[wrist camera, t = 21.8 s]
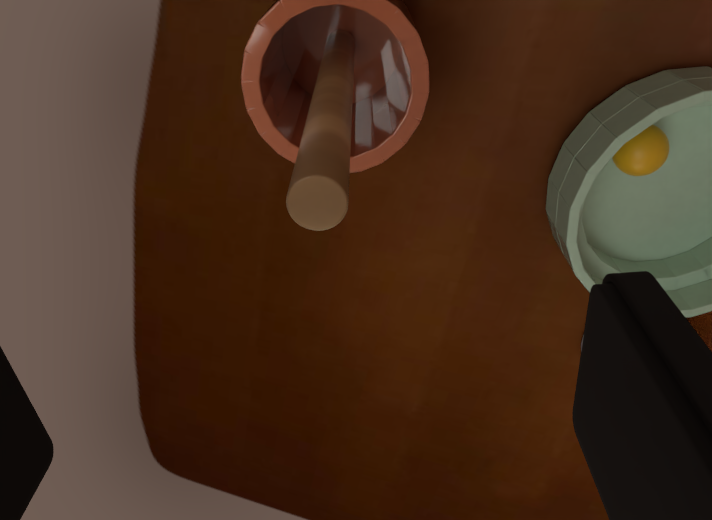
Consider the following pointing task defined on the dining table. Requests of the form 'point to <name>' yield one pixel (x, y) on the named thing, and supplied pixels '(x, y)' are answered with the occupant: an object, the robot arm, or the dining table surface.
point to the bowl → (641, 190)
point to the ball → (643, 152)
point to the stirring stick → (326, 141)
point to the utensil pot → (371, 74)
